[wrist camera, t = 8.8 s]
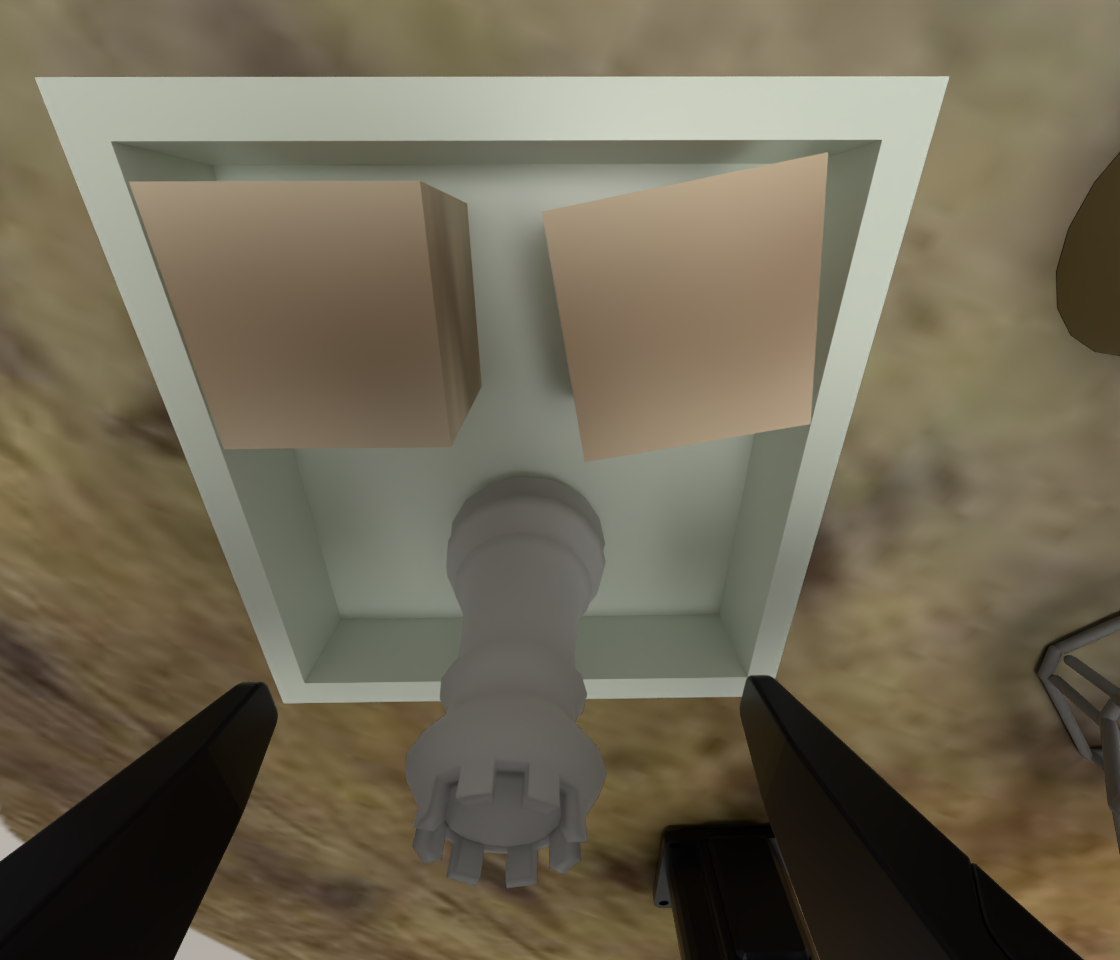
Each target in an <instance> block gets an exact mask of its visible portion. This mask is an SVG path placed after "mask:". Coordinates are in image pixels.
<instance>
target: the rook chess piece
mask: <svg viewBox="0 0 1120 960" xmlns="http://www.w3.org/2000/svg"><path fill="white" fill-rule="evenodd" d="M604 546H605V540H604V536H603V531H602V527H601V522H600V518H599V517H598V515H597V514H596V513H595V512H594V510H593V509H592V508H591V507H590V505H589V504H588V503H587V502H586V500H585V499H584V498H583V497H582V496H581V495H580V494H578V493H576V492H574V491H572V490H571V489H569V488H567V487H565V486H563V485H561V484H560V483H558V482H556V481H553V480H546V479H539V478H532V477H525V476H520V477H516V478H511V479H506V480H502V481H497V482H492V483H490V484H488V485H487V486H485V487H484V488H482V489H481V490H479V491H478V492H476V493H475V494H474V495H472V496H471V497H469V498H468V499H466V501H465V502H464V504H463V505H462V507H461V509H460V510H459V512H458V514H457V515H456V517H455V519H454V520H453V522H452V530H451V537H450V539H449V540H448V549H447V563H446V569H447V576H448V579H449V581H450V583H451V586H452V588H453V590H454V594H455V596H456V599H457V601H458V603H459V606H460V608H461V610H462V613H463V619H462V635H461V646H460V650H459V654H458V658H457V659H456V660H454V662H453V663H452V664H451V666H450V667H449V669H448V670H447V671H446V673H445V674H444V676H443V677H442V678H441V688H440V700H441V702H442V704H443V706H444V708H445V710H446V712H447V713H446V715H444V716H443V717H442V718H440V719H439V720H438V721H436V722H435V723H434V724H433V725H431V726H430V727H429V728H427V729H426V730H425V731H423V733H422V734H421V735H420V737H419V738H418V739H417V741H416V742H415V743H414V745H413V746H412V747H411V749H410V750H409V751H408V753H407V754H406V777H405V779H406V781H407V783H408V786H409V788H410V790H411V792H412V794H413V797H414V799H415V801H416V803H417V805H418V811H417V815H416V819H415V823H414V827H413V828H417V829H416V834H415V838H414V842H413V846H412V847H413V848H414V850H415V851H416V852H417V854H418V855H419V857H420V858H421V860H422V861H423V863H424V864H426V863H430V862H434V861H437V860H441V858H442V853H443V847H444V842H445V839H447V840H448V841H450V842H451V843H452V849H451V855H450V860H449V866H448V872H447V878H450V879H453V880H457V881H460V882H464V883H467V884H471V885H474V886H475V885H476V884H477V882H478V880H479V879H480V877H481V869H482V860H483V852H489V853H502V854H507V863H506V875H505V880H506V886H507V888H512V887H520V886H528V885H535V884H537V877H538V850H540V849H543V848H545V847H548V846H549V868H551V869H553V870H555V871H557V872H559V873H561V874H564V873H566V872H567V871H568V870H569V869H570V868H572V867H573V866H574V865H575V864H576V863H578V862H579V861H580V860H581V854H580V842H587V832H586V815H587V814H588V812H589V811H590V809H591V808H592V806H593V805H594V803H595V802H596V800H597V799H598V797H599V795H600V792H601V789H602V786H603V783H604V780H605V777H606V774H607V772H606V769H605V766H604V762H603V759H602V756H601V753H600V749H599V748H598V747H597V746H596V745H595V744H594V743H593V742H592V740H591V739H590V738H589V737H588V736H587V735H586V734H585V733H584V732H583V731H582V730H581V729H580V727H579V726H578V725H577V724H576V723H575V720H576V719H577V718H578V717H579V716H580V715H581V714H582V712H583V708H584V705H585V701H586V698H587V692H586V688H585V685H584V682H583V678H582V675H581V674H580V673H579V672H578V671H577V670H576V669H575V647H576V639H577V631H578V623H579V619H580V618H581V617H582V616H583V614H584V613H585V612H586V611H587V609H588V605H589V603H590V602H591V601H592V600H593V599H594V597H595V596H596V595H597V593H598V589H599V586H600V582H601V578H602V574H603V570H604V566H605V563H606V561H605V557H604V552H603V550H604Z"/></svg>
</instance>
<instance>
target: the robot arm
mask: <svg viewBox="0 0 1120 960" xmlns="http://www.w3.org/2000/svg"><path fill="white" fill-rule="evenodd" d="M740 716H741V720H742V724H743V728H744V732H745V736H746V740H747V744H748V747H749V751H750V755H751V759H752V763H753V767H754V770H755V774H756V778H757V782H758V786H759V790H760V793H761V797H762V800H763V804H764V807H765V810H766V813H767V816H768V819H769V822H770V824H771V827H772V828H756V829H699V830H670V831H667V832H666V833H664V834H663V837H662V843H661V849H660V854H659V860H658V866H657V872H656V878H655V883H654V889H653V899H654V905H655V906H656V907H659V908H672V911H673V917H674V923H675V928H676V934H677V939H678V945H679V950H680V956H681V960H819V958H820V960H1084V959H1082V958H1081V957H1080V956H1079V955H1078V954H1076V953H1075V952H1074V951H1073V950H1072V949H1071V948H1069V947H1068V946H1067V945H1066V944H1065V943H1063V942H1062V941H1061V940H1060V939H1059V938H1058V937H1056V936H1055V935H1054V934H1053V933H1052V932H1051V931H1049V930H1048V929H1047V928H1046V927H1045V926H1044V925H1043V924H1042V923H1040V922H1039V921H1038V920H1037V919H1036V918H1035V917H1034V916H1033V915H1031V914H1030V913H1029V912H1028V911H1027V910H1026V909H1025V908H1024V907H1023V906H1021V905H1020V904H1019V903H1018V902H1017V901H1016V900H1015V899H1014V898H1012V897H1011V896H1010V895H1009V894H1008V893H1007V892H1006V891H1005V890H1004V889H1002V888H1001V887H1000V886H999V885H998V884H997V883H996V882H995V881H994V880H993V879H992V878H991V877H989V876H988V875H987V874H986V873H985V872H984V871H983V870H982V869H981V868H980V867H979V866H978V865H976V864H975V863H971V862H970V859H969V858H968V857H967V856H966V855H965V854H964V853H963V852H962V851H961V850H960V849H959V848H958V847H957V846H956V845H954V844H953V843H952V842H951V841H950V840H949V839H948V838H947V837H946V836H945V835H944V834H943V833H941V832H940V831H939V830H938V829H937V828H936V827H935V826H934V825H933V824H932V823H931V822H929V821H928V820H927V819H926V818H925V817H924V816H923V815H922V814H921V813H920V812H919V811H918V810H916V809H915V808H914V807H913V806H912V805H911V804H910V803H909V802H908V801H907V800H906V799H905V798H903V797H902V796H901V795H900V794H899V793H898V792H897V791H896V790H895V789H894V788H893V787H892V786H890V785H889V784H888V783H887V782H886V781H885V780H884V779H883V778H882V777H881V776H880V775H878V774H877V773H876V772H875V771H874V770H873V769H872V768H871V767H870V766H869V765H868V764H867V763H865V762H864V761H863V760H862V759H861V758H860V757H859V756H858V755H857V754H856V753H855V752H854V751H852V750H851V749H850V748H849V747H848V746H847V745H846V744H845V743H844V742H843V741H842V740H841V739H839V738H838V737H837V736H836V735H835V734H834V733H833V732H832V731H831V730H830V729H829V728H827V727H826V726H825V725H824V724H823V723H822V722H821V721H820V720H819V719H818V718H817V717H816V716H814V715H813V714H812V713H811V712H810V711H809V710H808V709H807V708H806V707H805V706H804V705H803V704H801V703H800V702H799V701H798V700H797V699H796V698H795V697H794V696H793V695H792V694H791V693H790V692H788V691H787V690H786V689H785V688H784V687H783V686H782V685H781V684H780V683H779V682H778V681H776V680H775V679H774V678H773V677H771V676H769V675H750V676H748V677H747V679H746V682H745V686H744V690H743V694H742V698H741V702H740ZM277 718H278V713H277V708H276V706H275V703H274V701H273V698H272V696H271V693H270V691H269V689H268V686H267V685H266V684H265V683H264V682H242V683H240V684H238V685H236V686H234V687H233V688H232V689H230V690H229V691H228V692H226V693H225V694H224V695H222V696H221V697H220V698H218V699H217V700H216V701H214V702H213V703H212V704H210V705H209V706H208V707H206V708H205V709H204V710H202V711H201V712H200V713H198V714H197V715H196V716H194V717H193V718H192V719H190V720H189V721H188V722H186V723H185V724H184V725H182V726H181V727H180V728H178V729H177V730H176V731H174V732H173V733H171V734H170V735H169V736H167V737H166V738H165V739H163V740H162V741H161V742H159V743H158V744H157V745H155V746H154V747H153V748H151V749H150V750H149V751H147V752H146V753H145V754H143V755H142V756H141V757H139V758H138V759H137V760H135V761H134V762H133V763H131V764H130V765H129V766H127V767H126V768H125V769H123V770H122V771H121V772H119V773H118V774H117V775H115V776H114V777H113V778H111V779H110V780H109V781H107V782H106V783H105V784H103V785H102V786H101V787H99V788H98V789H96V790H95V791H94V792H92V793H91V794H90V795H88V796H87V797H86V798H84V799H83V800H82V801H80V802H79V803H78V804H76V805H75V806H74V807H72V808H71V809H70V810H68V811H67V812H66V813H64V814H63V815H62V816H60V817H59V818H58V819H56V820H55V821H54V822H52V823H51V824H50V825H48V826H47V827H46V828H44V829H43V830H42V831H40V832H39V833H38V834H36V835H35V836H34V837H32V838H31V839H30V840H28V841H27V842H26V843H24V844H23V845H22V846H20V847H19V848H18V849H16V850H15V851H14V852H12V853H11V854H9V855H8V856H7V857H5V858H4V859H3V860H2V861H0V960H174V958H175V956H176V954H177V952H178V949H179V947H180V945H181V943H182V941H183V939H184V937H185V935H186V933H187V931H188V928H189V926H190V924H191V922H192V920H193V918H194V916H195V914H196V912H197V910H198V907H199V905H200V903H201V901H202V899H203V897H204V895H205V893H206V891H207V889H208V886H209V884H210V882H211V880H212V878H213V876H214V874H215V872H216V870H217V867H218V865H219V863H220V861H221V859H222V857H223V855H224V853H225V851H226V849H227V846H228V844H229V842H230V840H231V838H232V836H233V834H234V832H235V830H236V827H237V825H238V823H239V821H240V819H241V816H242V814H243V812H244V809H245V807H246V804H247V802H248V799H249V797H250V794H251V791H252V789H253V786H254V783H255V780H256V778H257V775H258V772H259V770H260V767H261V764H262V762H263V759H264V756H265V753H266V751H267V748H268V745H269V743H270V740H271V737H272V735H273V732H274V729H275V726H276V723H277ZM789 877H790V879H791V882H792V884H793V887H794V890H795V893H796V895H797V898H798V901H799V904H800V906H801V909H802V912H803V914H804V917H805V920H806V923H807V925H808V928H809V931H810V933H809V931H808V928H807V925H806V923H805V920H804V917H803V915H802V912H801V909H800V907H799V904H798V901H797V899H796V896H795V893H794V890H793V888H792V885H791V882H790V880H789ZM810 934H811V936H812V939H813V942H814V944H813V942H812V939H811V936H810ZM814 945H815V947H816V950H817V952H816V950H815V947H814ZM817 953H818V955H819V958H818V955H817Z"/></svg>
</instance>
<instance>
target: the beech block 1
mask: <svg viewBox="0 0 1120 960" xmlns="http://www.w3.org/2000/svg"><path fill="white" fill-rule="evenodd" d="M129 183H130V186H131V189H132V192H133V195H134V197H135V200H136V203H137V206H138V209H139V212H140V214H141V217H142V220H143V223H144V226H145V228H146V231H147V234H148V237H149V240H150V243H151V245H152V248H153V251H154V254H155V257H156V260H157V262H158V265H159V268H160V271H161V274H162V276H163V279H164V282H165V285H166V288H167V291H168V293H169V296H170V299H171V302H172V305H173V307H174V310H175V313H176V316H177V319H178V322H179V324H180V327H181V330H182V333H183V336H184V338H185V341H186V344H187V347H188V350H189V353H190V355H191V358H192V361H193V364H194V367H195V369H196V372H197V375H198V378H199V381H200V384H201V386H202V389H203V392H204V395H205V398H206V400H207V403H208V406H209V409H210V412H211V415H212V417H213V420H214V423H215V426H216V429H217V431H218V434H219V437H220V440H221V443H222V446H223V448H224V449H302V448H415V447H451V446H452V444H453V442H454V440H455V438H456V436H457V434H458V432H459V430H460V428H461V426H462V424H463V422H464V420H465V418H466V417H467V415H468V413H469V411H470V409H471V407H472V405H473V403H474V401H475V399H476V397H477V395H478V393H479V391H480V389H481V387H482V383H481V371H480V358H479V346H478V333H477V321H476V309H475V296H474V284H473V271H472V259H471V246H470V234H469V222H468V209H467V203H465V202H463V201H461V200H459V199H457V198H455V197H453V196H451V195H449V194H446V193H444V192H442V191H440V190H438V189H436V188H434V187H432V186H430V185H428V184H426V183H424V182H421V181H147V182H129Z"/></svg>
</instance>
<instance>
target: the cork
mask: <svg viewBox="0 0 1120 960" xmlns="http://www.w3.org/2000/svg"><path fill="white" fill-rule="evenodd" d="M1057 301H1058V310H1059V312H1060V314H1061V316H1062V318H1063V320H1064V322H1065V324H1066V326H1067V328H1068V330H1069V332H1070V334H1071V336H1073V337H1074V338H1076V339H1077V340H1079V341H1080V342H1081V343H1083V344H1084V345H1086V346H1087V347H1089V348H1090V349H1092V350H1093V351H1094V352H1099V353H1105V354H1111V355H1117V356H1120V153H1119V155H1118V156H1117V157H1116V158H1115V159H1114V160H1113V162H1112V163H1111V164H1110V165H1109V166H1108V167H1107V169H1106V170H1105V171H1104V172H1103V173H1102V175H1101V176H1100V177H1099V178H1098V179H1097V180H1096V182H1095V183H1094V185H1093V187H1092V189H1091V190H1090V192H1089V194H1088V196H1087V198H1086V199H1085V201H1084V203H1083V205H1082V206H1081V208H1080V210H1079V212H1078V213H1077V215H1076V217H1075V219H1074V221H1073V222H1072V224H1071V226H1070V228H1069V231H1068V234H1067V237H1066V241H1065V244H1064V248H1063V251H1062V255H1061V258H1060V262H1059V265H1058V269H1057Z"/></svg>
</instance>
